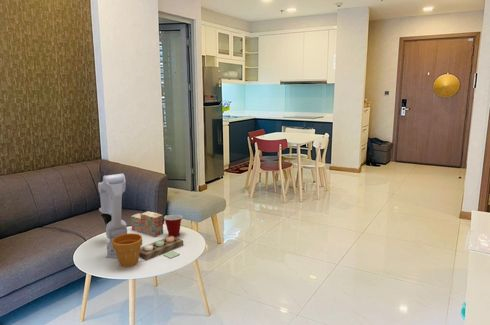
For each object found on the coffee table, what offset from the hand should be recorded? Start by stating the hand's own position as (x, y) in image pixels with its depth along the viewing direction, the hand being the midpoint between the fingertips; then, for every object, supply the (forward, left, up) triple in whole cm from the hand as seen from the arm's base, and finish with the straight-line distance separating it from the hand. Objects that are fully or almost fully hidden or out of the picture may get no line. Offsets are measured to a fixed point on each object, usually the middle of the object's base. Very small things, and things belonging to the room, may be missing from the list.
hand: (108, 225), depth 210 cm
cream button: (-12, -30, -8) cm, 33 cm away
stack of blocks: (+17, -15, -10) cm, 25 cm away
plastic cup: (+14, -33, -10) cm, 38 cm away
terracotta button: (0, -37, -8) cm, 38 cm away
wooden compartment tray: (-6, -33, -9) cm, 35 cm away
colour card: (-11, -42, -9) cm, 45 cm away
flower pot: (-23, -24, -10) cm, 35 cm away
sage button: (-6, -33, -8) cm, 35 cm away
